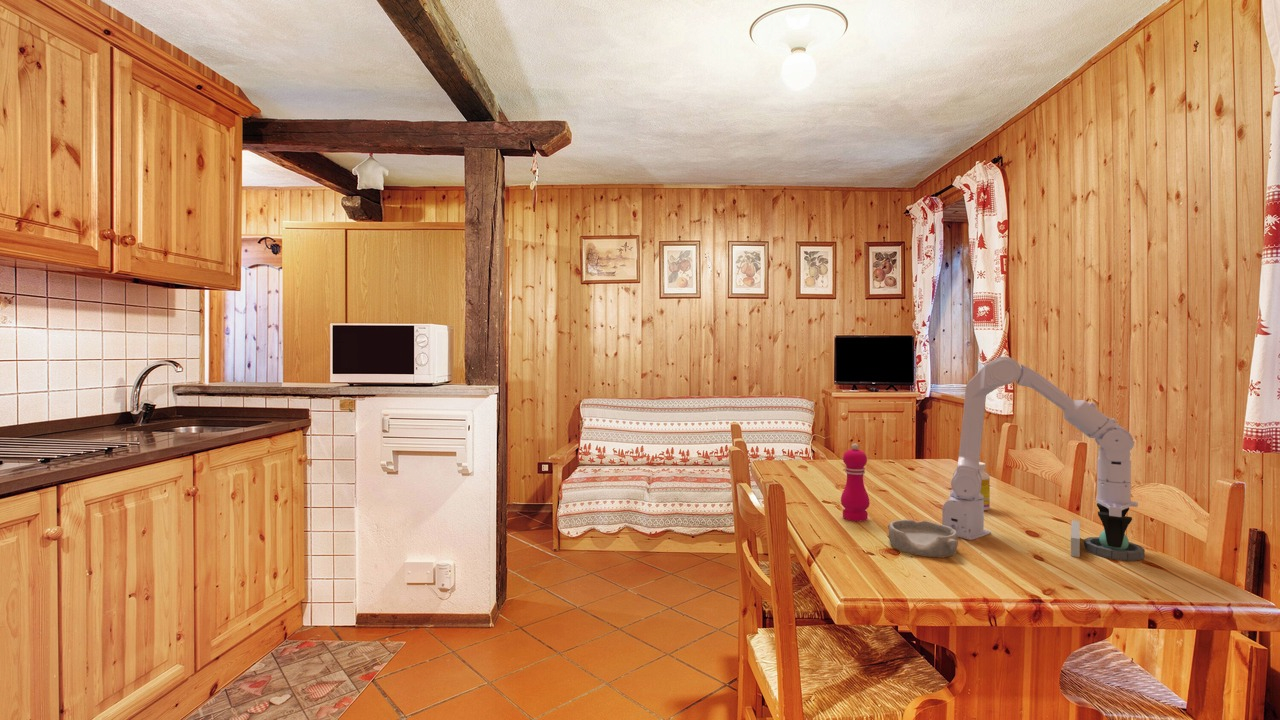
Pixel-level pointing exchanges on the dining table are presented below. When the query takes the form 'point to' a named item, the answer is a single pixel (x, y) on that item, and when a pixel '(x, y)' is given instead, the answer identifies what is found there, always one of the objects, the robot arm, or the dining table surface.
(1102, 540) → the ball
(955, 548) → the dish
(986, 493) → the supplement bottle
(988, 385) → the robot arm
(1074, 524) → the acrylic wall
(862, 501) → the pepper mill
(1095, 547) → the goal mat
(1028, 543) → the dining table surface
